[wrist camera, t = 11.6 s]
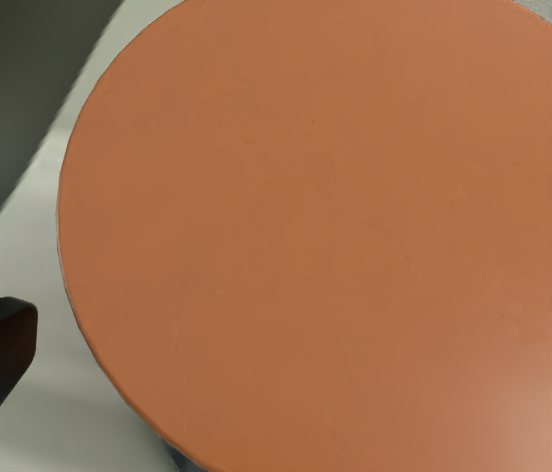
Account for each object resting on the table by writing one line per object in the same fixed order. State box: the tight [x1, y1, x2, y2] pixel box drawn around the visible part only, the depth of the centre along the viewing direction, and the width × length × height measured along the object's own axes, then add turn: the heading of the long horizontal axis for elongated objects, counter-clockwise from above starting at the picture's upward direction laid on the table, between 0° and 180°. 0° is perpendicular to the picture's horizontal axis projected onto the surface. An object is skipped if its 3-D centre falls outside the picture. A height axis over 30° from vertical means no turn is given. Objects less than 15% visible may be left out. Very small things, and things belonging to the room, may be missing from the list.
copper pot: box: [56, 0, 552, 472], centre depth 12 cm, size 10×7×13 cm
